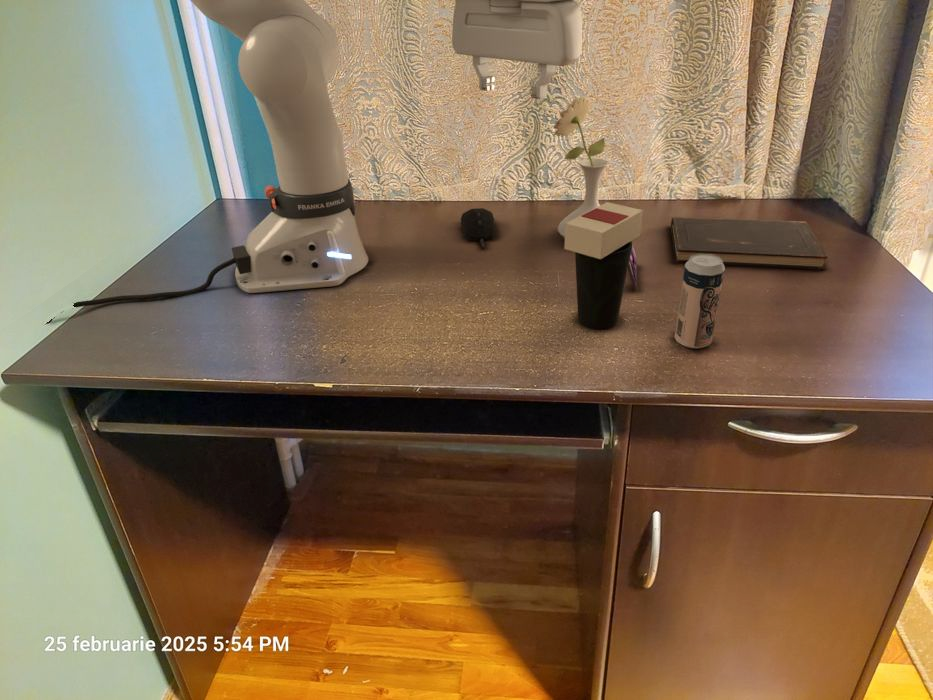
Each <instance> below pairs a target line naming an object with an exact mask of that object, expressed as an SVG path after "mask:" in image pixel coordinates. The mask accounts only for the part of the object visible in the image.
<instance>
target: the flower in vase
mask: <svg viewBox="0 0 933 700" xmlns="http://www.w3.org/2000/svg"><path fill="white" fill-rule="evenodd" d="M591 106H592V100H591V99H588V98H587V96H586V95H582V96H581V97H580V98H579V99H578V98H574V99H573V100H572V101H571V102H570V103H569V104H568V105H567V108H566V109H565V110H561V112H560V113H559V117H560V118H558V119H557V121H556V122H555V124H554V125H553V129H556V130H555V131H554V132H553V133H554V134H553V135H556V136H557V137H560V138H564V137H568V136H569V135H570V134H573V133H574V132H575V131H576V130H578V131H579V132H580V136H581V140H582V145H583V147H582V146H575V147H574V148H572V149H571V150H569V151H568V152H567V153H566V154H565V157H564V158H563V159H564V160H576V159H577V158H579V157H580V156H581V155H582V154H583V153H584V151H585V153H586V155H587V157H588V158H586V159H581V160H580V161H578V165H579V166H580V168H581V169H582V172H583V175H584V181H585V182H584V184H585V193H584V199H583V202H582V204H581V205H580V206H579V207H577V209H575V210H574V211H572V212H571V213H569V214H568V215H567V216H565V217H564V218H563V219H562V220H561V221H560V223H559V224H558V227H557V231H558V233H559V234H560V236H561V237H562V238H563V239H565V223H567V222H569V221H571V220H573V219H575V218H577V217H579V216H581V215H583V214H585V213H587V212H589V211H590V210H592V209H594V208H596V207H598V206H600V205H601V204H600V202H599V189H600V188H599V187H600V182H601V178H602V174H603V173H604V170H605V169H606V167H607V166H608V165H609V162H608V161H607V160H605V159H602V158H592V157H595V156H598V155H600V154H602V153H603V152H604V149H605V138H604V137H602V138H601V139H599V140H598V141H595V142H594V143H592V144H590V145H589V146H588V149H587V145H586V142H585V137H584V132H583V129H582V124H584V122H585V121H586V119H588V117H589V112H590V111H591Z"/></svg>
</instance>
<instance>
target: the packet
mask: <svg viewBox="0 0 933 700" xmlns="http://www.w3.org/2000/svg"><path fill="white" fill-rule="evenodd" d="M643 213H644V210H643V209H640V208H635V207H630V206H626V205H622V204H618V203H613V202H609V201H606V202H604V203H602V204H600V206H598V207H596V208H594V209H592V210H590V211H589V212H587V213H585V214H583V215H581V216H579V217H577V218H575V219H573V220H571V221H569V222H567V223H565V238H564V248H563V249H564V250H567V251H570V252H574V253H575V252H577V253H580V254H584V255H587V256H591V257H594V258H598V259H602V258H604V257H605V256H607V255H609V254H610V253H612V252H614V251H615V250H617V249H619V248H620V247H622V246H624V245H625V244H627V243H629V242H630V241H632V242H633V241H634V240H635V239H638V237H640V236H641V234H642V226H643V225H642V224H643Z"/></svg>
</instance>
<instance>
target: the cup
mask: <svg viewBox="0 0 933 700" xmlns="http://www.w3.org/2000/svg"><path fill="white" fill-rule="evenodd" d="M632 246H633V247H634V245H633V240H632V241H630V242H629V243H627V244H625V245H624V246H622V247H620V248H619V249H617V250H615V251H614V252H612V253H610V254H609V255H607V256H605V257H604V258H602V259H598V258H594V257H591V256H587V255H584V254H580V253H577V252H574V258H575V260H574V261H575V280H576V281H575V282H576V301H577V302H576V303H577V321H578V323H579V324H580V325H581V326H582V327H584V328H586V329H589V330H595V331H596V330H597V331H599V330H600V331H603V330H609V329H612V328H614V327H615V326H616V325H617V324H618V320H619V315H620V310H621V306H622V305H621V304H622V301H623V296H624V291H625V286H626V280H627V276H628V274H627V273H628V272H629V270H628V266H629V261H630V256H631V251H632V249H633V247H632Z"/></svg>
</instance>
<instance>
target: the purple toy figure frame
mask: <svg viewBox="0 0 933 700" xmlns="http://www.w3.org/2000/svg"><path fill="white" fill-rule="evenodd" d="M636 257H637V256H636V252H635V249H634V245H633V246H632V251H631V256H630V261H629V266H628V273H629V276H630V280H631V284H632V287H633V290H634V291H637V290H638V278H637V277H638V274H637V270H638V269H637V268H638V267H637V258H636Z"/></svg>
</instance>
